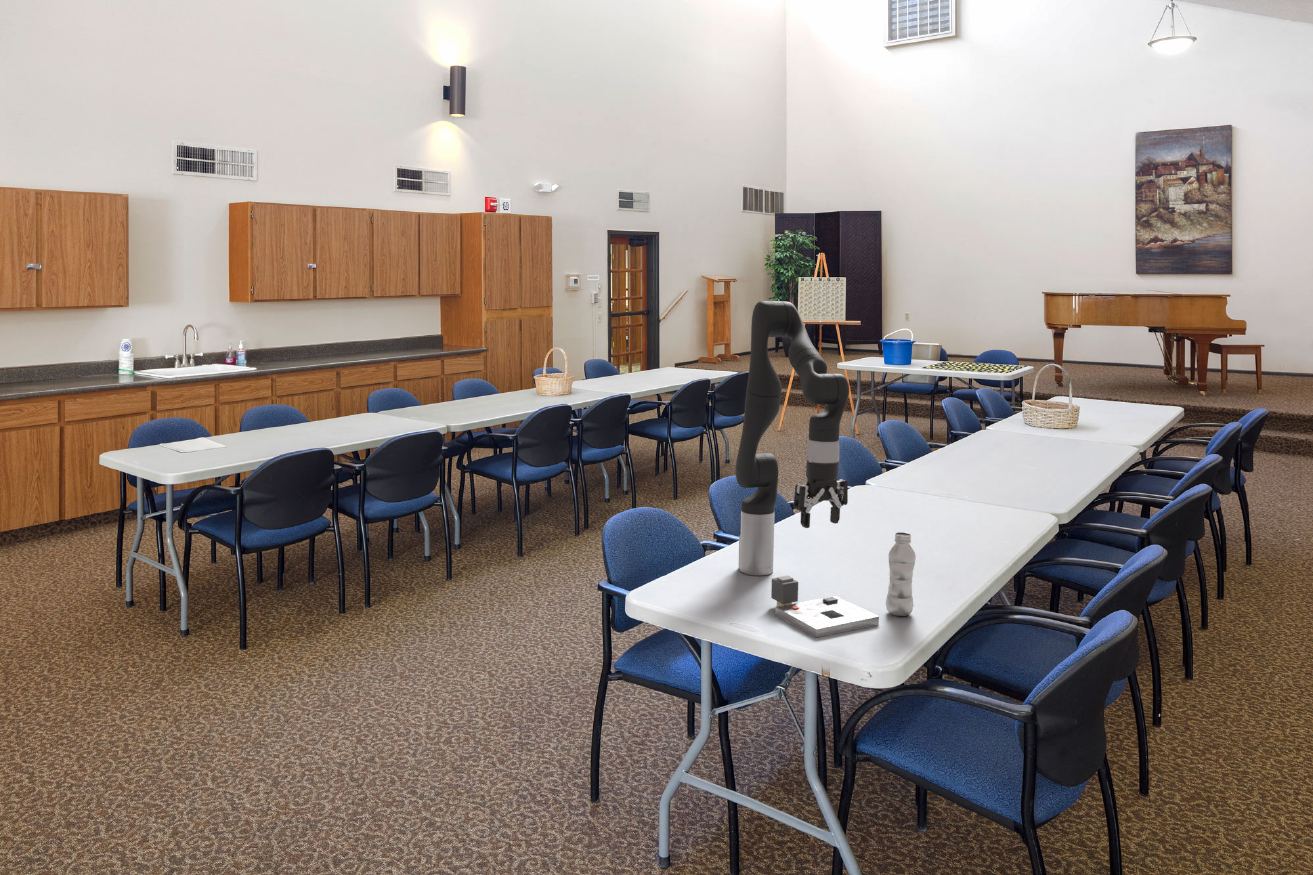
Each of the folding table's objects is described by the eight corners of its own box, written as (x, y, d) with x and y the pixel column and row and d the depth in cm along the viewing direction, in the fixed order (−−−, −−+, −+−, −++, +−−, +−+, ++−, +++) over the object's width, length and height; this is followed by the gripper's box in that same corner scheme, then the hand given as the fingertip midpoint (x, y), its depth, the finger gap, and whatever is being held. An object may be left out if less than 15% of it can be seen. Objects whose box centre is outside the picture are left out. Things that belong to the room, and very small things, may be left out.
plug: (771, 605, 220) (771, 576, 219) (785, 602, 222) (786, 573, 221) (782, 611, 216) (783, 581, 215) (797, 609, 218) (798, 579, 217)
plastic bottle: (907, 609, 218) (911, 530, 215) (916, 619, 211) (921, 537, 208) (881, 609, 218) (885, 530, 215) (889, 619, 211) (893, 538, 208)
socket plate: (775, 615, 214) (775, 603, 213) (835, 603, 222) (835, 592, 221) (816, 637, 200) (816, 625, 199) (878, 624, 208) (879, 613, 207)
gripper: (836, 453, 215) (833, 517, 218) (788, 458, 209) (786, 524, 212) (857, 458, 209) (853, 525, 212) (808, 464, 202) (805, 532, 205)
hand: (819, 525), depth 212 cm, fingers open, 8 cm apart
